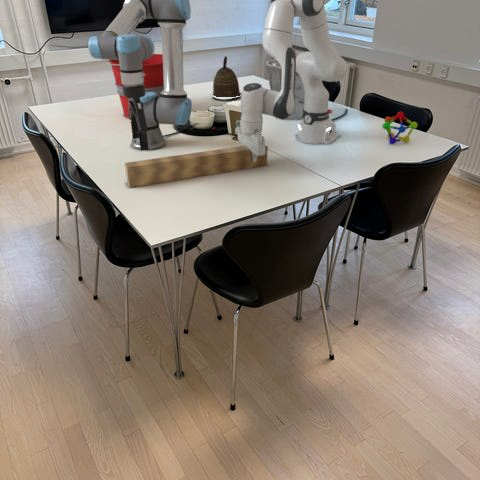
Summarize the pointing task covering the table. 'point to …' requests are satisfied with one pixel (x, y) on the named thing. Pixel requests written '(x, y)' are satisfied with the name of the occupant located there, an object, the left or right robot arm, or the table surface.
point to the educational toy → (398, 128)
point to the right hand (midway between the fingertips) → (250, 158)
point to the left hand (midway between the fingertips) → (140, 143)
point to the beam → (191, 165)
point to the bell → (225, 82)
